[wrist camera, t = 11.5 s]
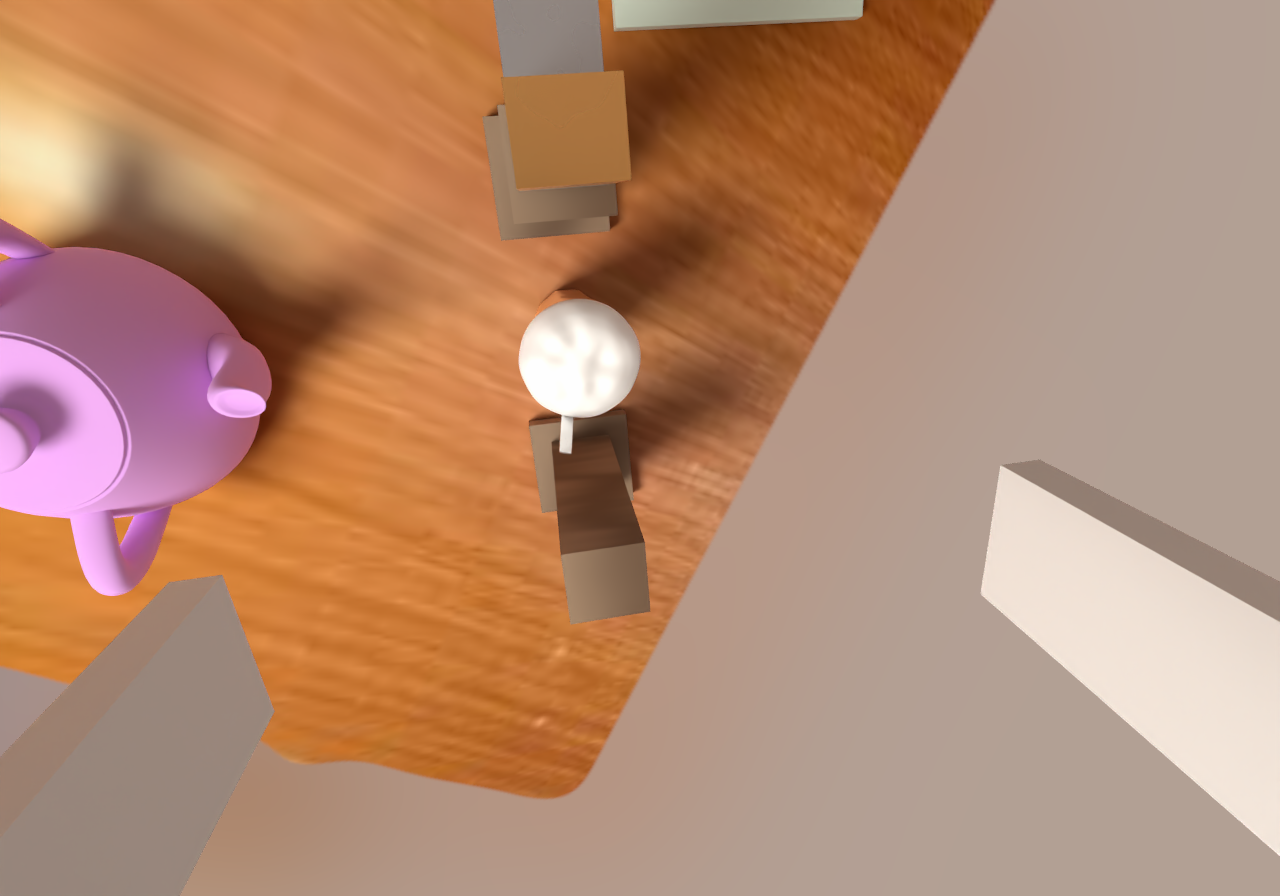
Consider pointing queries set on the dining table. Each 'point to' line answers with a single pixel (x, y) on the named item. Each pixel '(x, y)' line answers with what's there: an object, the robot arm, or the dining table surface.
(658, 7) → the mat
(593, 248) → the dining table surface
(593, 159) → the bar
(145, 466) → the teapot
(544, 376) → the milkshake
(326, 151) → the dining table surface
